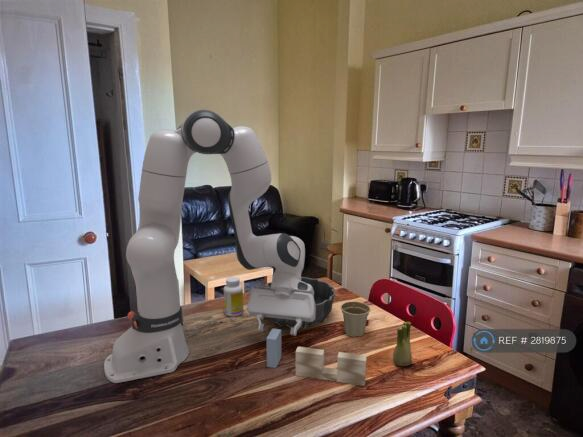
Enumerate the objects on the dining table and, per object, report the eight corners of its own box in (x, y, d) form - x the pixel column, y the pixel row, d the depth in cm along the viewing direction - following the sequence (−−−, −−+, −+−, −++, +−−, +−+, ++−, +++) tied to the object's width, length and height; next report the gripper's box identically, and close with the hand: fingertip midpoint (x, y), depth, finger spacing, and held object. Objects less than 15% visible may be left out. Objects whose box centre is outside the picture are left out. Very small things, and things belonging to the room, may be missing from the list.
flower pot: (369, 341, 116) (370, 315, 114) (338, 338, 118) (339, 312, 116) (369, 326, 125) (370, 302, 123) (340, 324, 127) (341, 300, 125)
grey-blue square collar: (275, 368, 103) (275, 339, 101) (266, 366, 103) (266, 338, 102) (281, 356, 108) (281, 329, 106) (272, 355, 109) (272, 328, 107)
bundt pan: (249, 330, 123) (248, 302, 121) (271, 298, 148) (270, 274, 146) (330, 340, 117) (330, 310, 115) (338, 304, 142) (339, 279, 140)
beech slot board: (365, 380, 98) (366, 355, 96) (364, 386, 95) (365, 361, 94) (297, 369, 102) (297, 346, 100) (295, 375, 99) (295, 351, 98)
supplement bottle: (246, 311, 137) (246, 277, 134) (236, 318, 131) (235, 283, 128) (231, 307, 140) (230, 274, 137) (220, 315, 134) (219, 280, 131)
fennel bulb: (397, 370, 102) (399, 329, 99) (387, 360, 106) (390, 320, 104) (415, 366, 103) (418, 326, 101) (405, 356, 108) (408, 318, 105)
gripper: (250, 280, 114) (239, 325, 106) (317, 286, 109) (310, 333, 102) (255, 288, 119) (245, 332, 112) (319, 294, 114) (313, 340, 107)
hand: (276, 332), depth 107 cm, fingers open, 8 cm apart
